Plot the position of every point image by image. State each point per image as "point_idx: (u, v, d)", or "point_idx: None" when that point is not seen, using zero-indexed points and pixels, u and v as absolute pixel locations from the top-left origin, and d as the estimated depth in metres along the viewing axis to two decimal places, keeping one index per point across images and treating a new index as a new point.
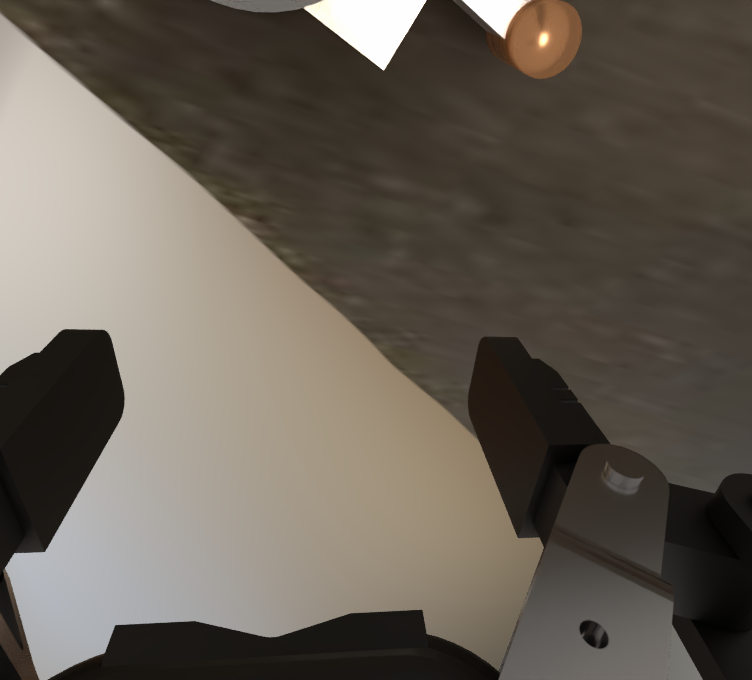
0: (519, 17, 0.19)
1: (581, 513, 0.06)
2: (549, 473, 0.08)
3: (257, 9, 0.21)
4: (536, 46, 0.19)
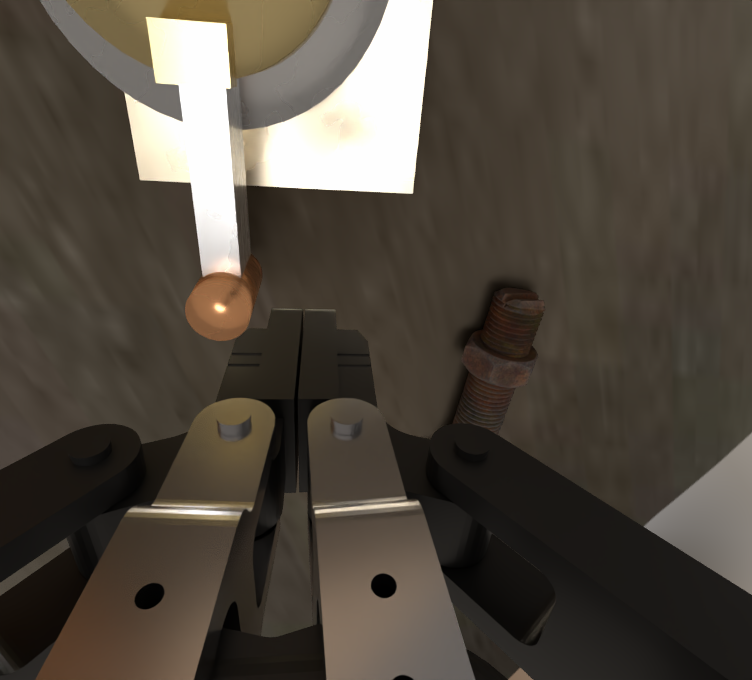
0: (217, 278, 0.20)
1: (330, 477, 0.06)
2: None
3: (55, 20, 0.18)
4: (207, 307, 0.20)
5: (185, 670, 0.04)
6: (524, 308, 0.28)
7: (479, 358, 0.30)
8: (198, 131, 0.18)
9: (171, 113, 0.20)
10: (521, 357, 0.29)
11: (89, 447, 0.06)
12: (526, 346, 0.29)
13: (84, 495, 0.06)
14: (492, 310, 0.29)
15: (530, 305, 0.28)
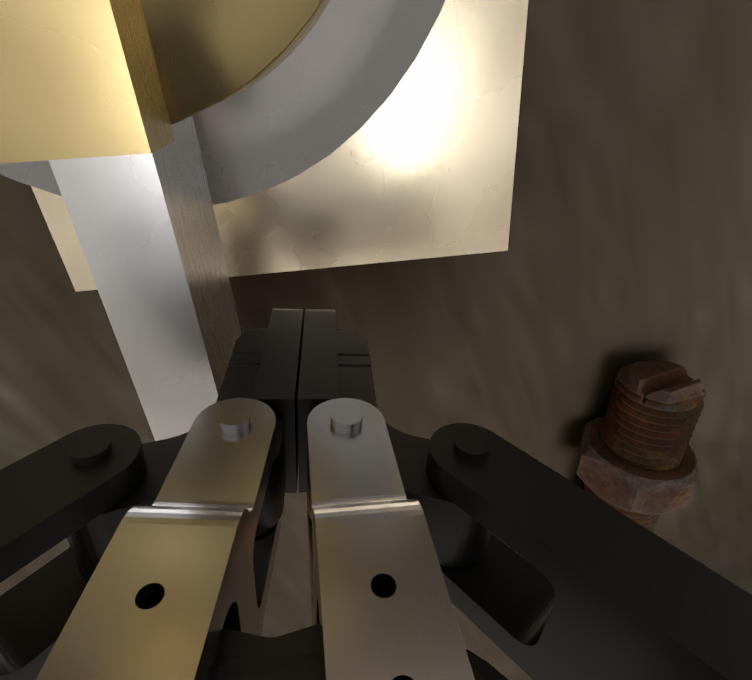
0: None
1: (329, 477, 0.06)
2: None
3: None
4: None
5: (185, 670, 0.04)
6: (677, 402, 0.18)
7: (610, 477, 0.20)
8: (110, 243, 0.08)
9: None
10: (675, 467, 0.19)
11: (89, 448, 0.06)
12: (681, 450, 0.19)
13: (84, 495, 0.06)
14: (619, 404, 0.19)
15: (684, 394, 0.18)
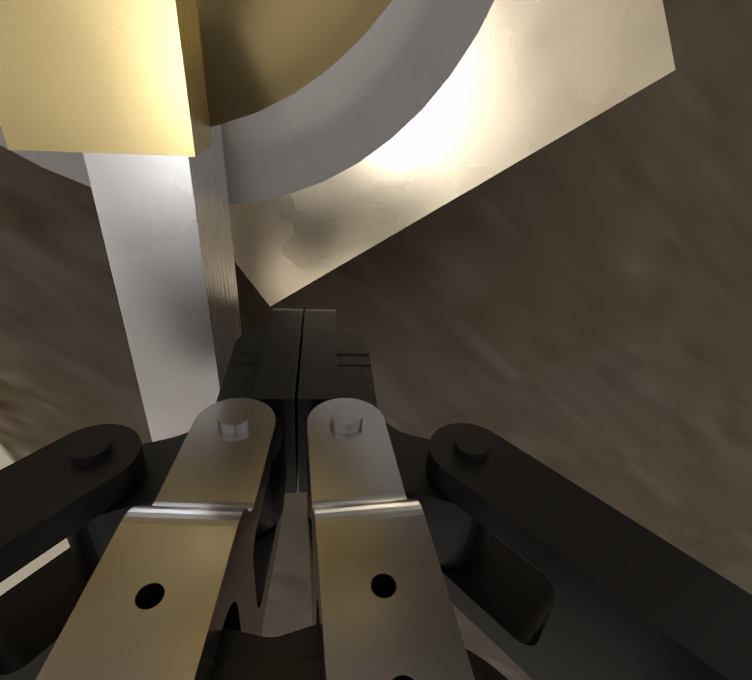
0: None
1: (329, 477, 0.06)
2: None
3: (45, 164, 0.10)
4: None
5: (186, 669, 0.04)
6: None
7: None
8: (133, 236, 0.08)
9: (269, 191, 0.11)
10: None
11: (89, 447, 0.06)
12: None
13: (84, 495, 0.06)
14: None
15: None
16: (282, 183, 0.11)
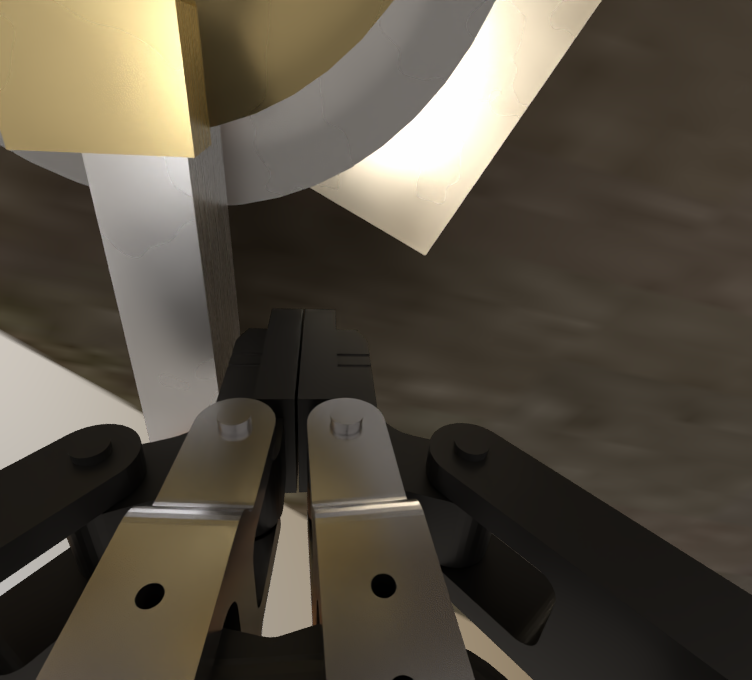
0: None
1: (329, 477, 0.06)
2: None
3: None
4: None
5: (186, 670, 0.04)
6: None
7: None
8: (131, 237, 0.08)
9: (397, 124, 0.11)
10: None
11: (89, 448, 0.06)
12: None
13: (84, 495, 0.06)
14: None
15: None
16: (406, 108, 0.11)
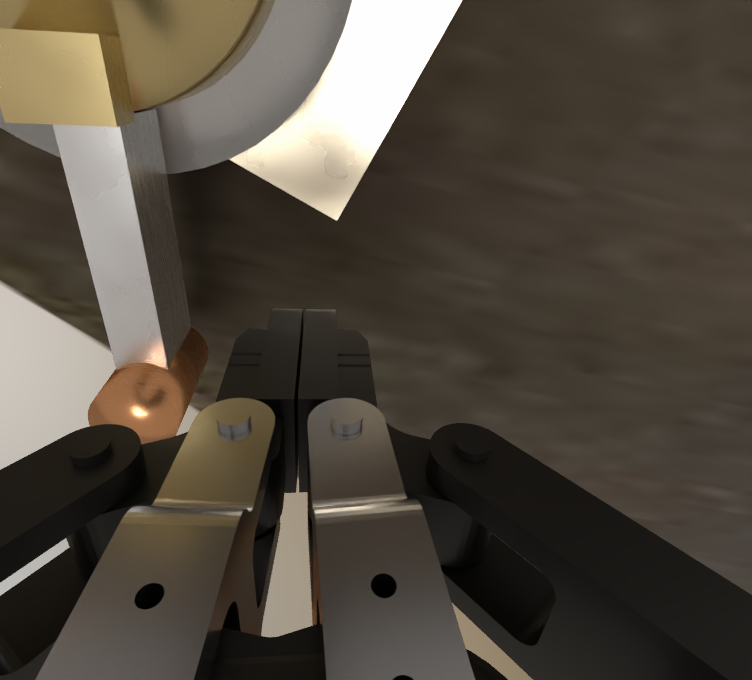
0: (132, 375, 0.15)
1: (330, 477, 0.06)
2: None
3: None
4: (117, 415, 0.15)
5: (185, 669, 0.04)
6: None
7: None
8: (87, 184, 0.13)
9: (285, 113, 0.15)
10: None
11: (88, 448, 0.06)
12: None
13: (83, 495, 0.06)
14: None
15: None
16: (290, 102, 0.15)
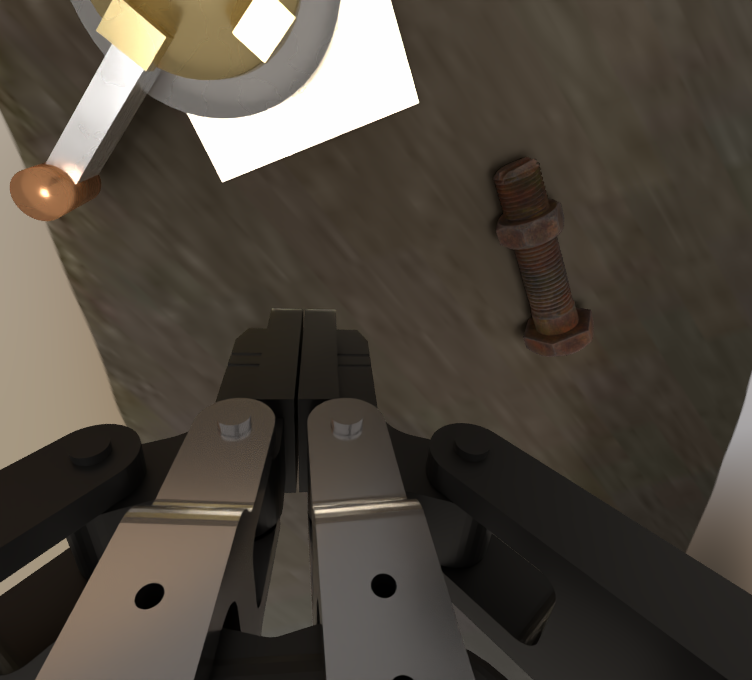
0: (56, 172, 0.24)
1: (329, 477, 0.06)
2: None
3: None
4: (32, 186, 0.24)
5: (185, 669, 0.04)
6: (519, 174, 0.32)
7: (510, 233, 0.34)
8: (108, 75, 0.23)
9: (227, 115, 0.27)
10: (543, 212, 0.33)
11: (89, 447, 0.06)
12: (542, 202, 0.33)
13: (84, 495, 0.06)
14: (498, 191, 0.34)
15: (523, 169, 0.32)
16: (233, 113, 0.27)
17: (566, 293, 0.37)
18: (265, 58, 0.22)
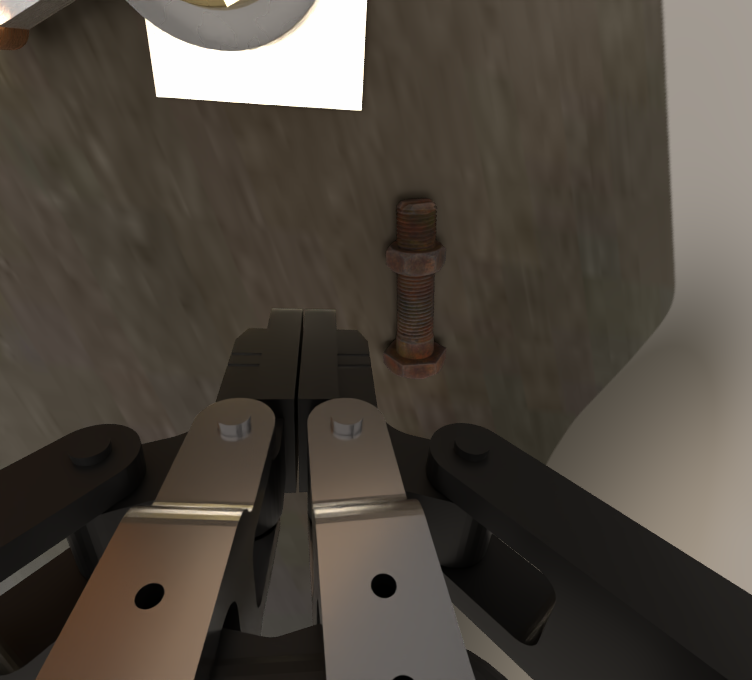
0: None
1: (330, 477, 0.06)
2: None
3: None
4: None
5: (185, 669, 0.04)
6: (417, 210, 0.36)
7: (395, 257, 0.38)
8: None
9: (181, 37, 0.28)
10: (427, 250, 0.38)
11: (88, 447, 0.06)
12: (428, 240, 0.38)
13: (83, 495, 0.06)
14: (397, 218, 0.38)
15: (422, 207, 0.37)
16: (188, 38, 0.28)
17: (428, 326, 0.41)
18: (229, 3, 0.24)
